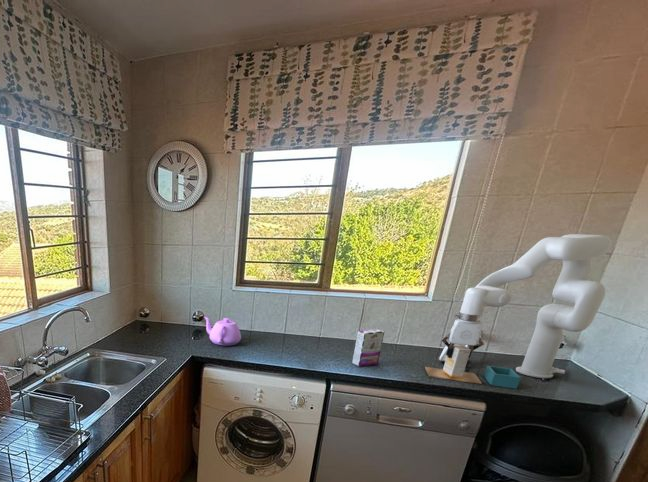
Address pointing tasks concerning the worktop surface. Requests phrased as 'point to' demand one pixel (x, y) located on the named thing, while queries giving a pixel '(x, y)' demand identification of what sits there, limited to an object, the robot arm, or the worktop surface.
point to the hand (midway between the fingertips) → (457, 357)
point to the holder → (502, 377)
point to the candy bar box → (368, 347)
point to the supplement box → (457, 361)
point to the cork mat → (440, 374)
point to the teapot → (224, 332)
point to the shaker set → (443, 354)
